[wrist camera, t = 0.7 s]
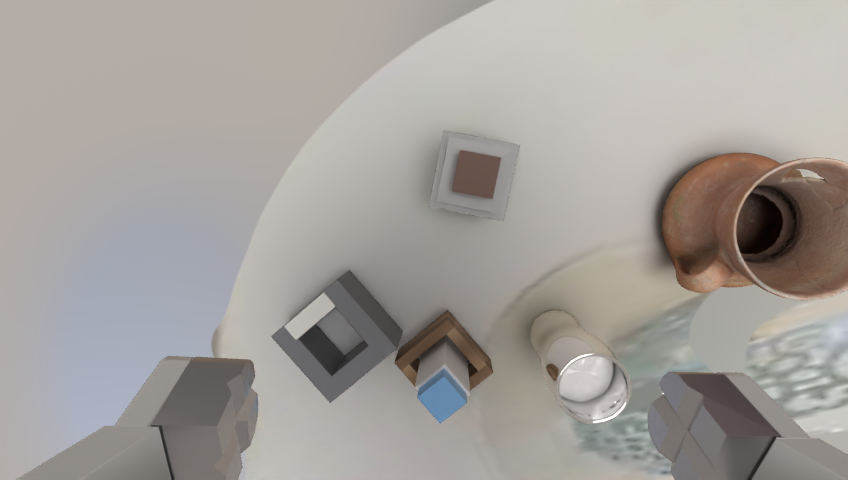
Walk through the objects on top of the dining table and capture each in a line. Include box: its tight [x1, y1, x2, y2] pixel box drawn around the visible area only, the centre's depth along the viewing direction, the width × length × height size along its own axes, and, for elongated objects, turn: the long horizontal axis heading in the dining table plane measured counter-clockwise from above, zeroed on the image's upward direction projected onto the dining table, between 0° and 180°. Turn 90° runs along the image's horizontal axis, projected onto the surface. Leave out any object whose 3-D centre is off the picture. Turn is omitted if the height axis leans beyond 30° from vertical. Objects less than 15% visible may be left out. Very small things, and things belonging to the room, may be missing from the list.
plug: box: [415, 334, 470, 423], centre depth 49 cm, size 4×4×12 cm
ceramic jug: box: [662, 153, 848, 300], centre depth 45 cm, size 18×14×14 cm
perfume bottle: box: [429, 130, 520, 221], centre depth 44 cm, size 7×7×18 cm
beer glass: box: [530, 310, 632, 424], centre depth 47 cm, size 7×7×15 cm
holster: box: [395, 311, 493, 390], centre depth 53 cm, size 8×8×4 cm
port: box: [271, 270, 403, 403], centre depth 53 cm, size 10×10×6 cm
